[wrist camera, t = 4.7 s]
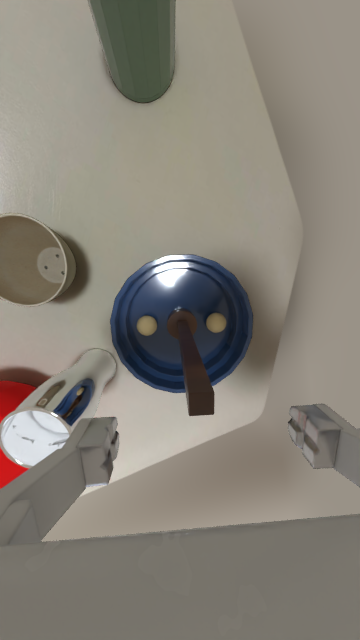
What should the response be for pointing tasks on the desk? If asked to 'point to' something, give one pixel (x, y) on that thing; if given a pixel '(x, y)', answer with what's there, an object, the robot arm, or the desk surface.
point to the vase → (3, 401)
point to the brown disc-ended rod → (191, 363)
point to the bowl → (173, 293)
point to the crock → (137, 44)
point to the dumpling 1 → (146, 325)
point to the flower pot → (32, 261)
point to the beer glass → (55, 409)
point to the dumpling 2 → (216, 322)
